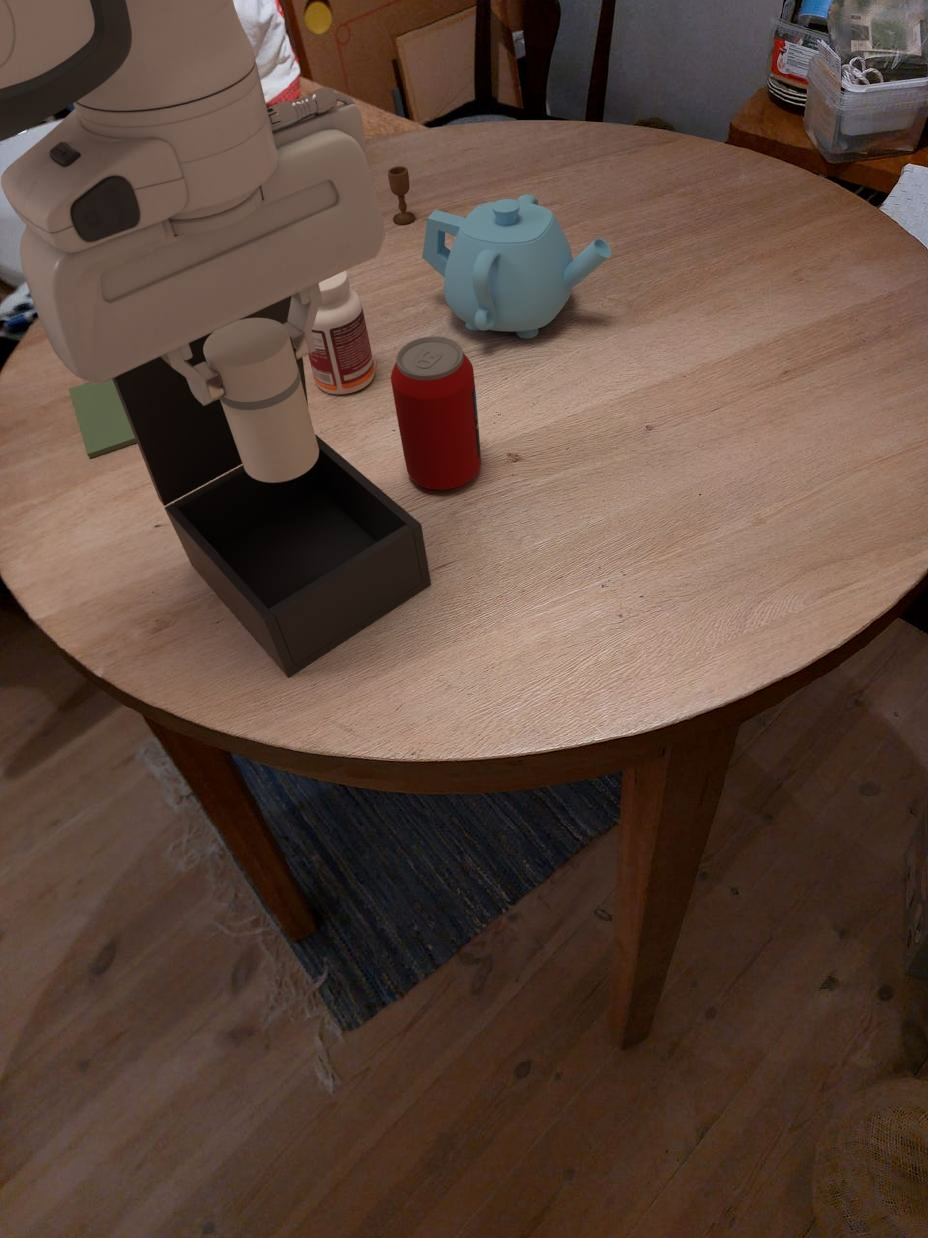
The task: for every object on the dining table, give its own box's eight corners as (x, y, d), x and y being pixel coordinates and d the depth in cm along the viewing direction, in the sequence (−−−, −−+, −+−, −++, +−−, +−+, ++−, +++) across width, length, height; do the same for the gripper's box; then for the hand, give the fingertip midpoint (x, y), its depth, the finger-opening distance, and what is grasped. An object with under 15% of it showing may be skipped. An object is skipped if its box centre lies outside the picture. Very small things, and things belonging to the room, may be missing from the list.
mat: (89, 458, 84) (87, 453, 83) (71, 393, 91) (68, 388, 90) (210, 418, 86) (208, 413, 86) (182, 357, 93) (180, 352, 93)
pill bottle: (377, 357, 90) (358, 256, 82) (374, 394, 86) (354, 291, 78) (317, 362, 90) (292, 262, 82) (312, 399, 87) (286, 298, 78)
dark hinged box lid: (292, 265, 58) (286, 258, 58) (104, 351, 53) (98, 343, 53) (310, 427, 72) (305, 420, 73) (164, 506, 68) (159, 499, 68)
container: (254, 493, 57) (214, 377, 50) (233, 448, 60) (192, 332, 53) (330, 466, 58) (301, 349, 51) (305, 423, 61) (275, 307, 55)
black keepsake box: (431, 584, 70) (421, 523, 64) (288, 678, 65) (264, 621, 60) (325, 489, 78) (309, 428, 73) (191, 566, 73) (163, 507, 68)
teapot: (400, 344, 91) (382, 234, 82) (458, 263, 101) (449, 157, 92) (584, 373, 86) (587, 259, 76) (628, 285, 95) (635, 174, 86)
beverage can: (496, 459, 79) (488, 343, 69) (455, 505, 75) (441, 390, 66) (434, 438, 81) (418, 323, 72) (392, 481, 78) (370, 367, 69)
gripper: (322, 62, 49) (363, 290, 59) (-34, 189, 42) (85, 423, 52) (387, 90, 46) (418, 326, 56) (12, 234, 38) (129, 473, 49)
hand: (255, 374), depth 54 cm, fingers closed on container, 5 cm apart
